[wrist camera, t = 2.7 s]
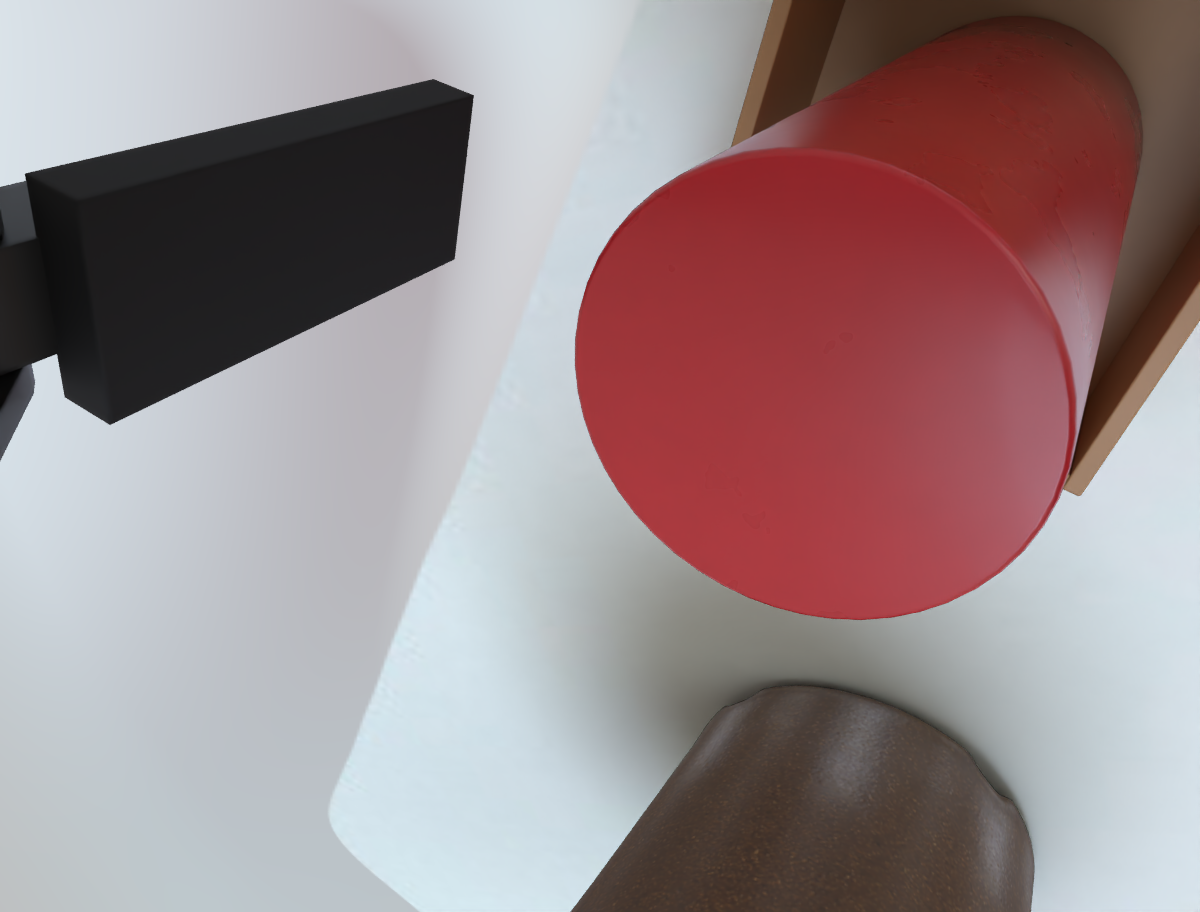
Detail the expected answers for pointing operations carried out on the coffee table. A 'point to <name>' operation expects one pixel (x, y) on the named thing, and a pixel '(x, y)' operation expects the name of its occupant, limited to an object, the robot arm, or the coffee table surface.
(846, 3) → the carton
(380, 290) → the robot arm
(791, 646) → the coffee table surface
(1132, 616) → the coffee table surface
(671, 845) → the plant pot
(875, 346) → the can
